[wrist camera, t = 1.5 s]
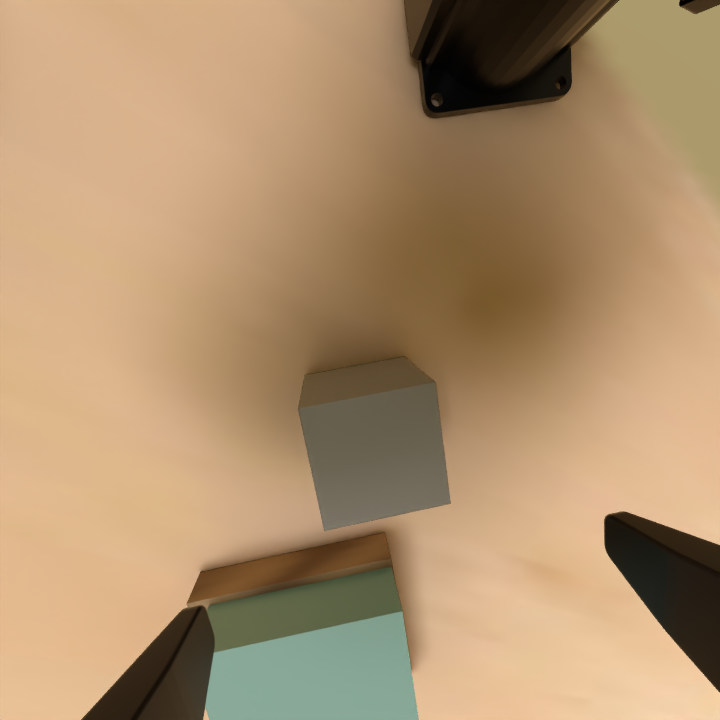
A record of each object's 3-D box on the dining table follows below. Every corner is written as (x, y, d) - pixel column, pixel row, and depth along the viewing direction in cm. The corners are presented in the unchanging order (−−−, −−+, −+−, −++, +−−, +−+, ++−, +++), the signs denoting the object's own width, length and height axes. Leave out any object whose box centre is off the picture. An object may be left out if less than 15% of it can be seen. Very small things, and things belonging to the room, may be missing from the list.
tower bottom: (382, 525, 20) (391, 558, 18) (406, 663, 22) (416, 709, 20) (204, 563, 19) (186, 603, 17) (245, 702, 21) (235, 755, 19)
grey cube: (404, 356, 18) (435, 382, 13) (417, 447, 19) (450, 503, 14) (304, 374, 17) (298, 408, 12) (323, 466, 18) (324, 531, 13)
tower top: (391, 566, 18) (402, 610, 15) (412, 703, 20) (425, 762, 17) (208, 605, 17) (189, 658, 15) (248, 742, 19) (237, 809, 16)
